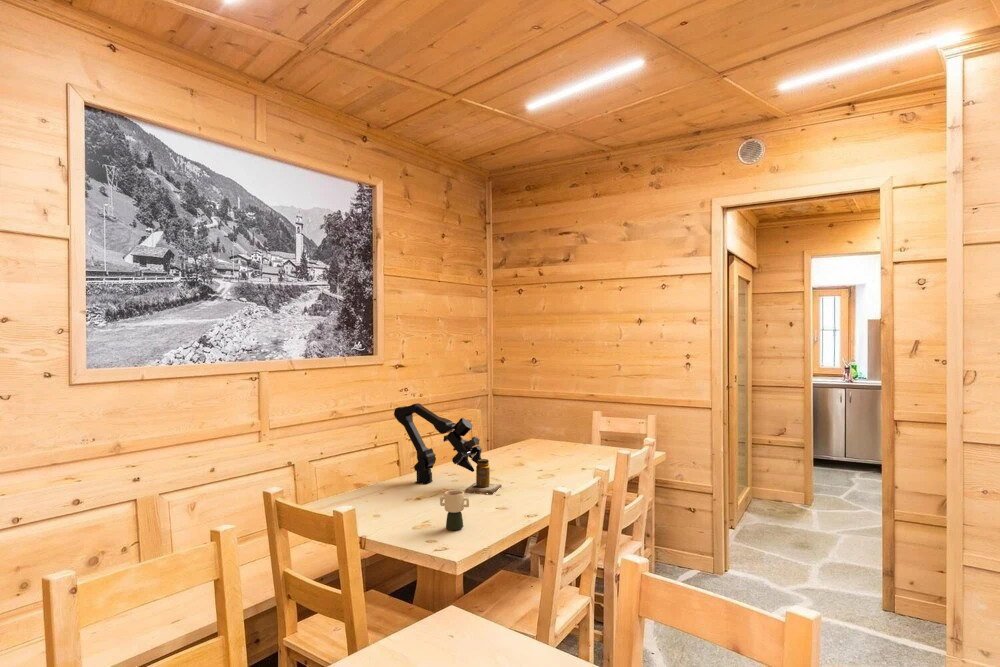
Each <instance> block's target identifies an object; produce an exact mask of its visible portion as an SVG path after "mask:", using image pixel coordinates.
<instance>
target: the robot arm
mask: <svg viewBox="0 0 1000 667" xmlns="http://www.w3.org/2000/svg"><path fill="white" fill-rule="evenodd" d="M413 414H417V415H418V416H419V417H421V418H422V419H423V420H425V421H427V422H428V423H430V424H432V426H433V428H434V429H435V430H436V431H437V432H438V433H440V435H444V434H446V435H444V436H443V443H445V442H449V444H450V445H451V446H452V447H453V449H452V450H453V452H454V451H456V453H455V455H454V456H453V457H452V458H451V459H452V461H451V462H452V463H453V464H454V465H456V466H459V467H462V468H463V469H466V470H468V471H470V472H472V473H473V472H475V468H474V466H473V465H472V464H471V462H470V460H471V461H472V462H473V463H475V464H476V465H477V460H479V459H482V456H481V454H482V450H483V448H482V447H481V446H480V440H481V439H479V437H478V436H473V437H471V439H469V440H467V439H464V438H462V437H465V436H466V435H467V434H468V433H469V432H470V431H471V430H472V429H473V428H474V426H473V423H472V422H471V421H469V420H468V419H466V418H465V417H460V419H459V420H458V421H457V423H455V422H453V421H452V420H450V419H448V418H445V417H441V416H438V415H437V414H436V413H434V412H432V411H431V410H429V409H428V408H426V407H425V406H423V405H422V404H421V403H419V402H418V403H417V402H416V403H413V404H410V405H402V406H399V407H396V408H395V409H394V411H393V416H394V417H395V419H396V420H397V422H398V423H399V424H401V425H402V426H403V428H404V429H405V431H406V433H407V435H408V437H409V439H410V441H411V443H412V445H413V447H414V449H415V451H416V459H417V462H416V463H415V464H414V466H413V469H414V471H416V481H415V482H414V484H420V483H423V484H422V485H428V484H430V483H432V482H433V471H432V469H433V467H434V465H435V464H436V460H437V458H436V454H435V452H434V450H433V448H428V447H427V445H426V444H425V441H424V440H423V438H422V437H421V435H420V433H419V430H418V429H417V427H416V424H415V422H414V421H413V420H414V418H413V417H414V416H413ZM469 458H470V460H469Z"/></svg>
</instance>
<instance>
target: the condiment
mask: <svg viewBox="0 0 1000 667" xmlns="http://www.w3.org/2000/svg"><path fill="white" fill-rule="evenodd" d="M489 462H490V461H489V459H486V458H481V459H479V460H477V464H476V470H475V472H476V474H475V475H476V476H475V477H476V478H475V480H476V481H475V483H476V485H475V486H473V487H471V488H476V489H487V488H489V487H491V486H492V485H490V484H491V483H490V480H491V479H490V472H491V471H490V470H491V469H490V465H489V464H490V463H489Z"/></svg>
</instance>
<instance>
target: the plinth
mask: <svg viewBox="0 0 1000 667" xmlns="http://www.w3.org/2000/svg"><path fill="white" fill-rule="evenodd" d="M475 485H476V482H474V483H472V484H471V485H470V486H468V487H466V488H465V489H464V493H467V492H475V493H474V494H480V493H488V494H487V495H494V494H495V493H497V490H498V489H499V488H500V489H502V487H503V486H502V484H499V483H497V484H496V483H490V485H492V486H491V487H489V488H487V489H476V488H471V487H473V486H475ZM500 489H499V490H500ZM499 490H498V491H499ZM494 492H495V493H494ZM493 493H494V494H493Z"/></svg>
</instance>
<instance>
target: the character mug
mask: <svg viewBox="0 0 1000 667" xmlns="http://www.w3.org/2000/svg"><path fill="white" fill-rule="evenodd" d="M443 500H444V503H443ZM465 502H466V503H465ZM439 506H441V507H444V511H445V512H447V515H446V521H445V522H446V523H445V527H446V529H447V530H451V531H454V530H460V529H461V528H462V529H463V528H464V520H463V514H462V512H463V511H464V509H465V508H469V507H470V498H469V497H465V491H463V490H461V489H451V490H447V491H445V492H444V496H440V497H439Z"/></svg>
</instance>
